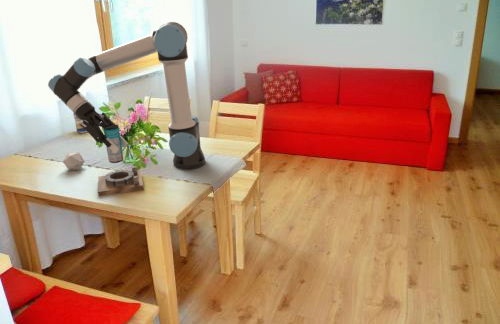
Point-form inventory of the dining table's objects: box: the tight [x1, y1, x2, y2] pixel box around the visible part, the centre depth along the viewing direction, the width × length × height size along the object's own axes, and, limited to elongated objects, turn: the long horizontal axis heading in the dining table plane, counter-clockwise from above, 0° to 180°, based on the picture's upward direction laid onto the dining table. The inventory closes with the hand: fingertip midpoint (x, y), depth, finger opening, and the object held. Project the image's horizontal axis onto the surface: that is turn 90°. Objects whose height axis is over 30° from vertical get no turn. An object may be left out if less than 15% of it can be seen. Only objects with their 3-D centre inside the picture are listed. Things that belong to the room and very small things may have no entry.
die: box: [62, 152, 86, 171], centre depth 194 cm, size 8×9×10 cm
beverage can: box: [102, 124, 124, 164], centre depth 171 cm, size 6×6×15 cm
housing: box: [97, 166, 144, 197], centre depth 177 cm, size 18×16×5 cm
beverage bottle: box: [72, 112, 88, 134], centre depth 245 cm, size 8×8×20 cm
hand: (121, 148), depth 170 cm, fingers closed on beverage can, 6 cm apart
